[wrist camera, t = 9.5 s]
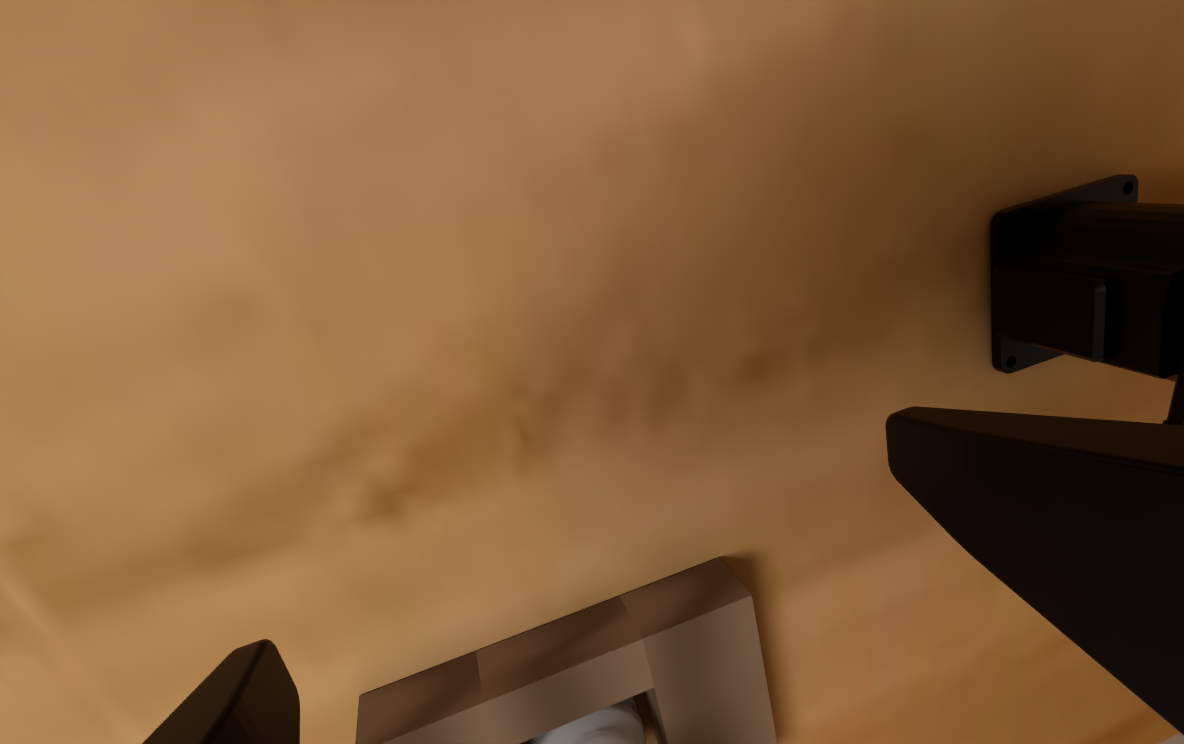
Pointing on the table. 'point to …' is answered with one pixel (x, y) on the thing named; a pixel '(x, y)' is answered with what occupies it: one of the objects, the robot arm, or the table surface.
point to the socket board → (598, 673)
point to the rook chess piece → (600, 727)
